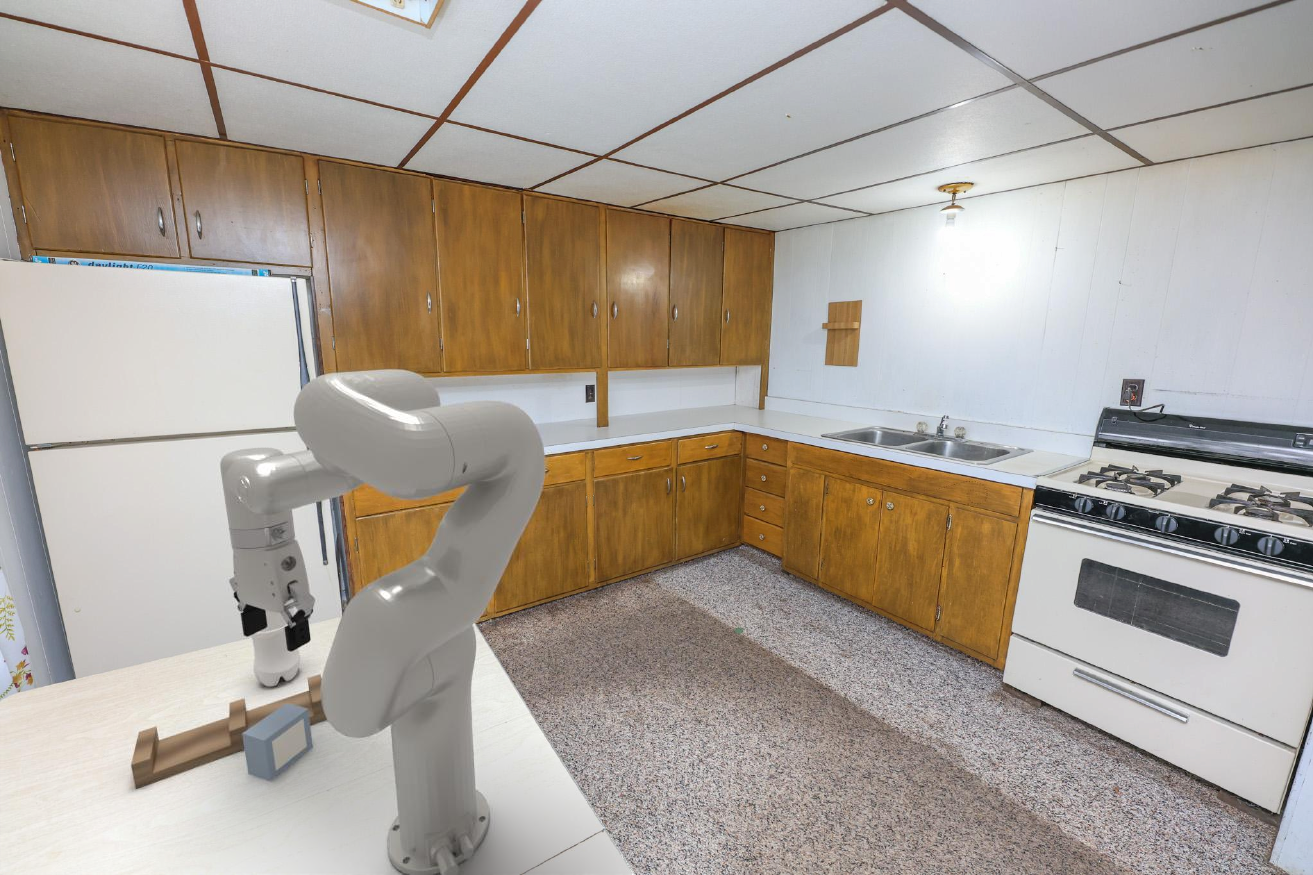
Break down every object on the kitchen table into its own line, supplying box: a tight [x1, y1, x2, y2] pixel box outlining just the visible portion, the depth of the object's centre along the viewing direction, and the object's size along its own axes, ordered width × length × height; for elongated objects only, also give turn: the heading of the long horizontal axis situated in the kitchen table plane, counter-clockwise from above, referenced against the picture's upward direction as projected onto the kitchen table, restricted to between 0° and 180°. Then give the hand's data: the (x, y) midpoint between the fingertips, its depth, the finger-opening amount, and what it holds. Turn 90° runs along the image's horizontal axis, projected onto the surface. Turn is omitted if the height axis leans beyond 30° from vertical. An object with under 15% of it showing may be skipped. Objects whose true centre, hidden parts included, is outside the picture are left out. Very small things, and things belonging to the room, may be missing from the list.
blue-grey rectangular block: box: [242, 703, 314, 782], centre depth 82 cm, size 4×7×7 cm, turn 163°
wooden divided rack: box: [130, 673, 327, 789], centre depth 87 cm, size 8×24×4 cm, turn 128°
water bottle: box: [251, 599, 301, 687], centre depth 99 cm, size 7×7×25 cm
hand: (277, 638), depth 81 cm, fingers open, 9 cm apart
